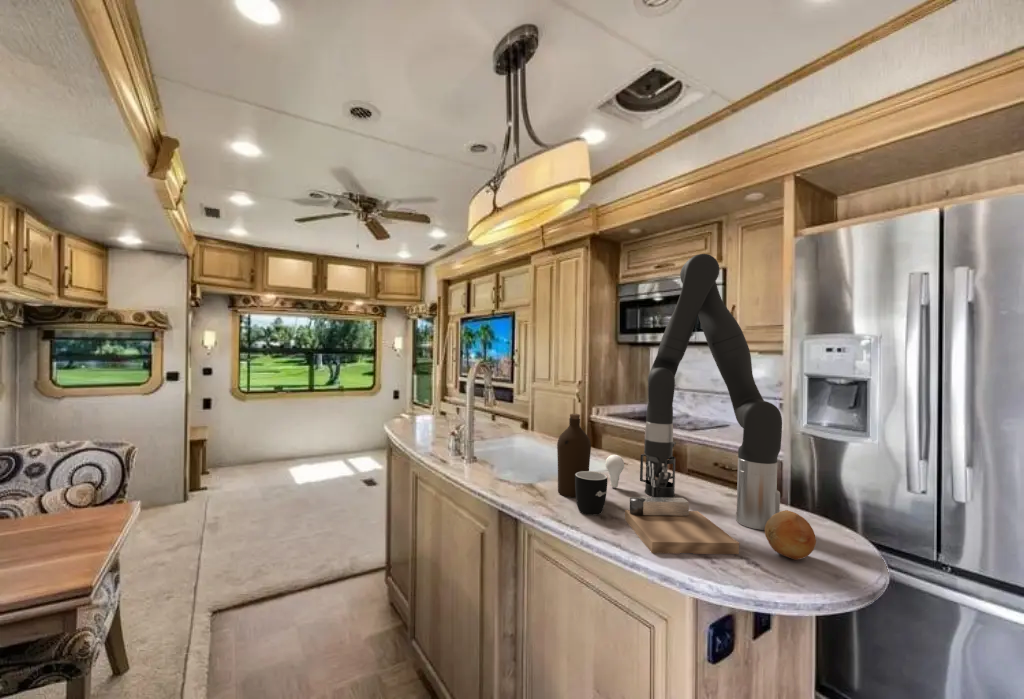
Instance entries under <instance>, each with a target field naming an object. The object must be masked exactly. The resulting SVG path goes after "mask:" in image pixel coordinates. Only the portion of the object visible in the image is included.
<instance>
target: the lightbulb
mask: <svg viewBox="0 0 1024 699" xmlns="http://www.w3.org/2000/svg"><path fill="white" fill-rule="evenodd" d="M605 468H606V470H607V472H608V475H609V482H610V483H609V484H610V485H609V486H610V487H612V488H613V489H616V488H618V486H619V481H620V476H621V474H622V472H623V470H624V468H625V461H624V459H623V457H622V456H620V455H617V454H611V455H609V456H608V457H607V458H606V459H605Z"/></svg>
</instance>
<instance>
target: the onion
mask: <svg viewBox="0 0 1024 699" xmlns="http://www.w3.org/2000/svg"><path fill="white" fill-rule="evenodd" d="M764 535H765V538H766V541H767V542H768V544H769V545H770V548H771V549H772V550H773V551H774V552H775V553H777V554H779V555H782V556H783V557H786V558H789V559H791V560H794V561H795V560H802V559H804V558H806V557H808V556H810V554H812V553H813V551H814V550H815V547H816V545H817V536H816V534H815V531H814V528H813V527H812V525H811V524H810V522H808V520H807V519H806V518H804V517H803V516H802V515H800V514H798V513H796V512H793V511H791V510H787V509H785V510H780V512H779V513H776V514H774V515H773V516H772V517H771V518H770V519H769V520H768V521H767V523H766V525H765V530H764Z"/></svg>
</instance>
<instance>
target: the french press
mask: <svg viewBox="0 0 1024 699" xmlns="http://www.w3.org/2000/svg"><path fill="white" fill-rule="evenodd" d="M676 443H677V442H676V441H674V440H673V448H674V447H675V445H676ZM644 457H645V463H646V462H649V457H650V456H648V455H646V454H645V453H641V454H640V461H639V462H640V464H639V465H640V466H639V467H640V468H639V470H640V471H639V482H643V483H645V484H644V486H645V489H644V493H645V495H647V496H648V497H649V496H650V497H652V486H651V482H649V479H648V474H647V468H646V467H645V479H643V476H644ZM666 461H667V471H668V470H669V469H668V465H672V472H670V473H671V476H670V479H669V481H668V483H667V485H666V487H665V488H662V495H661V497H663V498H676V493H675V492H676V488H675V486H676V485H675V483H676V456H673V455H672V457H670V458H667V459H666ZM670 480H672V482H671V481H670Z"/></svg>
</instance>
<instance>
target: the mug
mask: <svg viewBox="0 0 1024 699" xmlns="http://www.w3.org/2000/svg"><path fill="white" fill-rule="evenodd" d="M575 491H576V497H575V499H576V500H575V501H576V505H577V510H578V511H579V512H580V513H581V514H584V515H587V516H598V515H601V514H602V513H603V511H604V509H605V505H606V500H607V491H608V475H606V474H605V473H602V472H599V471H593V470H592V471H591V470H589V471H581V472H577V473H576V474H575Z"/></svg>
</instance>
